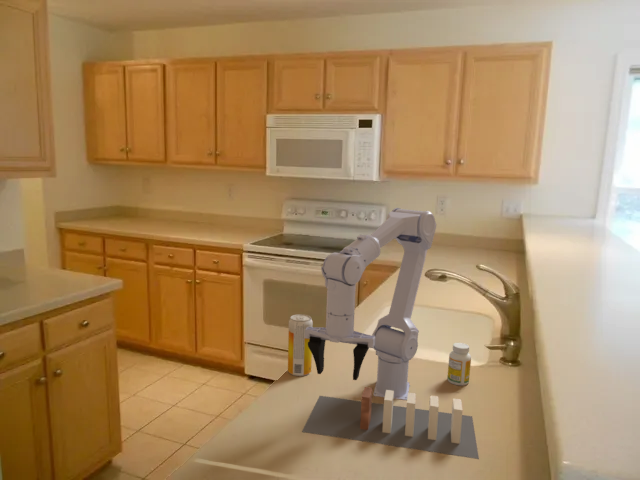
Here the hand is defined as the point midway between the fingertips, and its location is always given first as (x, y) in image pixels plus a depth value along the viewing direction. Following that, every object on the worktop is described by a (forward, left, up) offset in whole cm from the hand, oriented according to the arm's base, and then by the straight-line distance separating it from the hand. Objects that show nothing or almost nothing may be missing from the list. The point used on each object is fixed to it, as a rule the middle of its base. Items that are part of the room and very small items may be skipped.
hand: (337, 375), depth 101 cm
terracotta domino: (0, +6, -10) cm, 12 cm away
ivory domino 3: (0, +20, -10) cm, 22 cm away
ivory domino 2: (0, +15, -10) cm, 18 cm away
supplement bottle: (-28, +26, -11) cm, 40 cm away
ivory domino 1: (0, +11, -10) cm, 15 cm away
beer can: (-21, -14, -11) cm, 27 cm away
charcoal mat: (-2, +11, -10) cm, 15 cm away
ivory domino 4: (0, +24, -10) cm, 26 cm away
